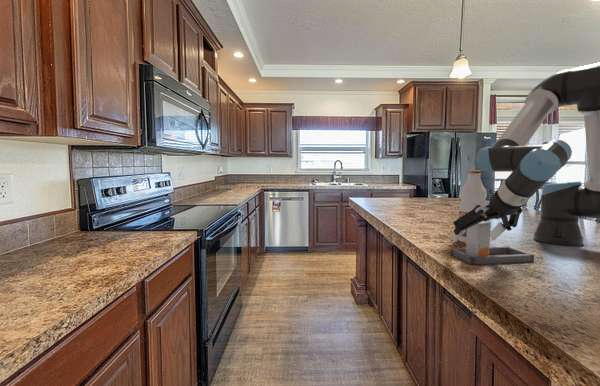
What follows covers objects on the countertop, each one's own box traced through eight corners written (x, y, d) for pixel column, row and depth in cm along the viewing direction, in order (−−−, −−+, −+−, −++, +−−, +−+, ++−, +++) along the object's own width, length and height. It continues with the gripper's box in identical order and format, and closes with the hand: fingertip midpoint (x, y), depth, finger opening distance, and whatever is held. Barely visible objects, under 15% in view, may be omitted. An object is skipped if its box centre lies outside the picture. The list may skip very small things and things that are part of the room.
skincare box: (477, 261, 101) (478, 223, 100) (465, 257, 105) (466, 221, 104) (489, 258, 104) (491, 221, 103) (477, 255, 108) (478, 219, 107)
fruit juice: (490, 243, 123) (494, 170, 121) (468, 245, 122) (471, 170, 119) (473, 238, 132) (476, 170, 130) (452, 239, 131) (455, 170, 128)
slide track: (506, 251, 112) (507, 245, 112) (533, 261, 101) (534, 254, 101) (450, 254, 109) (450, 247, 109) (471, 264, 99) (472, 257, 98)
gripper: (474, 208, 86) (441, 249, 102) (557, 206, 89) (512, 245, 106) (463, 187, 91) (433, 229, 107) (542, 186, 94) (501, 226, 110)
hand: (472, 237), depth 106 cm, fingers open, 13 cm apart
